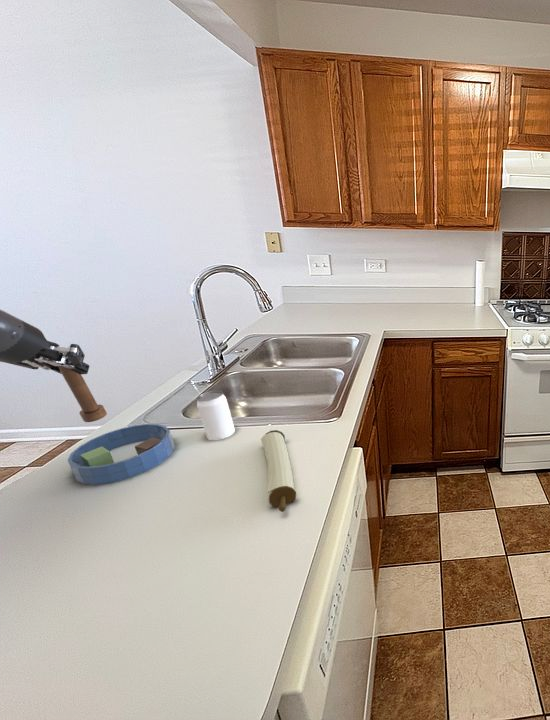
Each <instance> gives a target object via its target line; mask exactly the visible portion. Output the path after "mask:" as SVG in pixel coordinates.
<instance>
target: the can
mask: <svg viewBox="0 0 550 720" xmlns="http://www.w3.org/2000/svg"><path fill="white" fill-rule="evenodd" d="M196 400H197V402H196V407H197V410H198V414H199V417H200V420H201V424H202V427H203V430H204V433H205V436H206V438H207V439H208V440H209V441H219V440H225V439H227V438H229V437H231V436H232V435H233V434H235V431H236V428H235V425H234V420H233V418H232V417H233V416H232V413H231V410H230V406H229V403H228V399H227V397H226V395H225V394H224V392H223V391H221V390H211V391H207V392H203V393H201V394H199V395H198V396H197V397H196Z"/></svg>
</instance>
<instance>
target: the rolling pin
mask: <svg viewBox="0 0 550 720" xmlns="http://www.w3.org/2000/svg"><path fill="white" fill-rule="evenodd" d="M285 438H286V437H285V434H284V432H282V431H280V430H277V429H275V430H269V431H268V432H266V433H265V434H264V435H263V436H262V437H261V438H260V441H261V444H262V447H263V450H264V455H265V459H266V463H267V476H268V477H267V485H266V492H265V493H266V494H267V493H269V497H268V503H269V504H270V505H271V506H272V507H273V508H278V510H279V511H280V512H281V513H283V512H285V511H286V509H287V505H290V504H293V503H294V502H295V501H296V499H297V491H296V490H295V484H294V477H293V471H292V465H291V461H290V456H289V453H288V449H287V445H286V441H285V440H286V439H285Z"/></svg>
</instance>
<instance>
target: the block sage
mask: <svg viewBox="0 0 550 720" xmlns="http://www.w3.org/2000/svg"><path fill="white" fill-rule="evenodd" d="M80 456H81V458H82V460H83V463H84V465H85V466H84V467H94V466H101V465H108V464H112V463H115V461H114V458H113V456H112V454H111V450H109V451H108V450H107V449H105V448H104V447H99V448H97V449H94V450H92V451H89V452H87V453H84V454H81V455H80Z"/></svg>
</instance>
